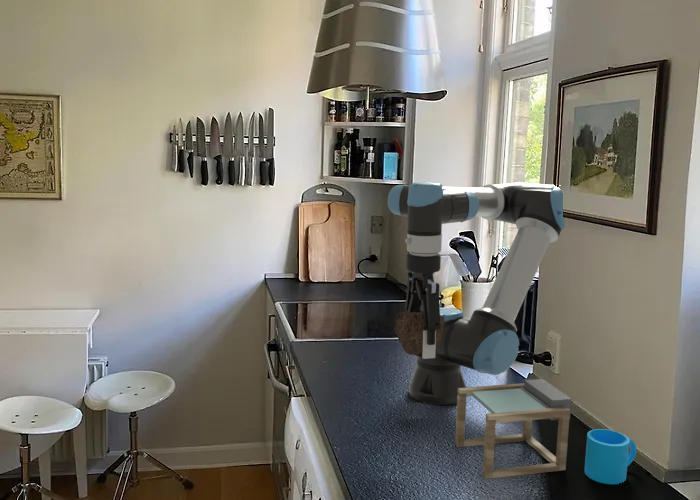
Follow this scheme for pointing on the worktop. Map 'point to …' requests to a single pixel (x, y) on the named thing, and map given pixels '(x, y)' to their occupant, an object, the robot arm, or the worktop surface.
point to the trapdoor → (524, 398)
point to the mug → (608, 456)
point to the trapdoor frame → (525, 416)
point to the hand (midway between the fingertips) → (420, 350)
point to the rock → (414, 332)
